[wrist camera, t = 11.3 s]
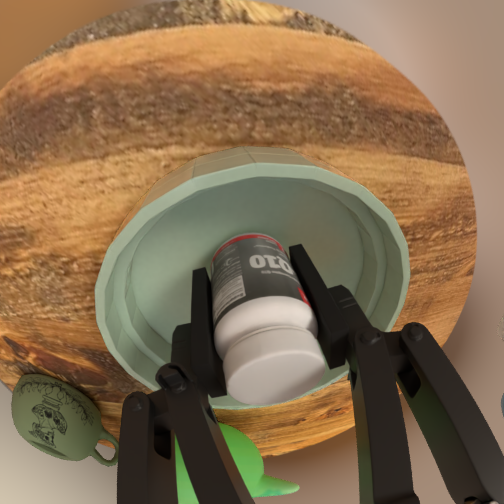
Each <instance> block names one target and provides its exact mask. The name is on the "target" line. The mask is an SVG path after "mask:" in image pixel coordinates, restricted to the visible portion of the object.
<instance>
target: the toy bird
mask: <svg viewBox="0 0 504 504" xmlns="http://www.w3.org/2000/svg"><path fill="white" fill-rule="evenodd" d="M218 424H219V426H220V429H221V431H222V434H223V436H224V438H225V441H226V443H227V445H228V448H229V450H230V452H231V454H232V457H233V459H234V461H235V463H236V466H237V468H238V470H239V472H240V474H241V476H242V478H243V480H244V482H245V485H246V487H247V489H248V491H249V493H250V495H251V497H252V498H253V497H262V496H275V495H284V494H290V493H293V492H296V491H297V490H298V489H299V486H298V485H297V484H295V483H293V482H289V481H286V480H282V479H278V478H274V477H271V476H267V475H265V474H264V466H263V460H262V457H261V454H260V452H259V450H258V449H257V447H256V446H255V444H254V443H253V442H252V441H251V440H250V439H249V438H248V437H247V436H246V435H245V434H243V433H242V432H241V431H239V430H237V429H236V428H234V427H231V426H229V425H226V424H223V423H220V422H218ZM175 455H176V476H177V492H178V504H199V502H198V500H197V497H196V495H195V492H194V489H193V487H192V484H191V481H190V479H189V476H188V473H187V470H186V467H185V464H184V461H183V458H182V455H181V452H180V449H179V445H178V442H177V439H176V435H175Z"/></svg>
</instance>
